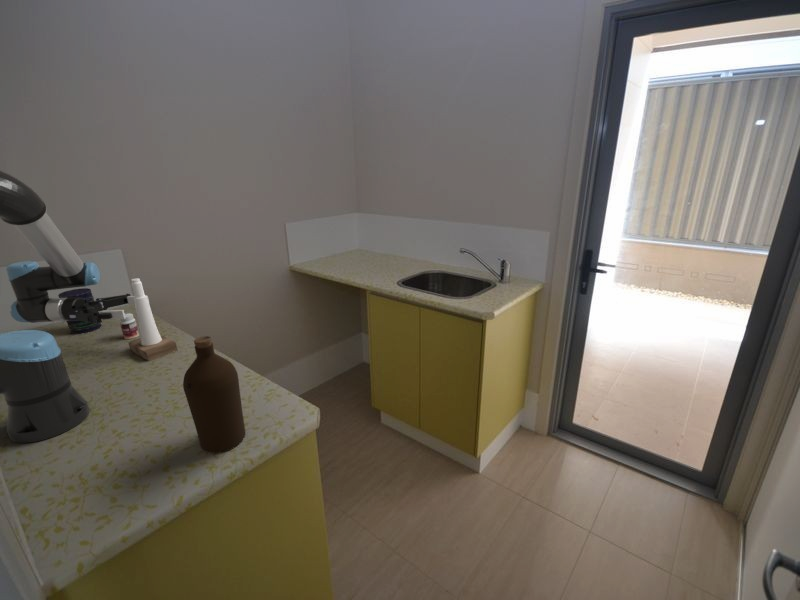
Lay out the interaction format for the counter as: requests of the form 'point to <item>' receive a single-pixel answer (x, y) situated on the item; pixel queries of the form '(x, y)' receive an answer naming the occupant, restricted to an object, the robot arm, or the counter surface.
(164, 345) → the walnut board
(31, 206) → the robot arm
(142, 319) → the cosmetic bottle
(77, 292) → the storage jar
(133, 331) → the pill bottle
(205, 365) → the olive oil
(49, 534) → the counter surface
